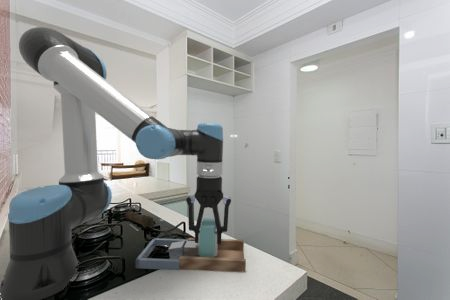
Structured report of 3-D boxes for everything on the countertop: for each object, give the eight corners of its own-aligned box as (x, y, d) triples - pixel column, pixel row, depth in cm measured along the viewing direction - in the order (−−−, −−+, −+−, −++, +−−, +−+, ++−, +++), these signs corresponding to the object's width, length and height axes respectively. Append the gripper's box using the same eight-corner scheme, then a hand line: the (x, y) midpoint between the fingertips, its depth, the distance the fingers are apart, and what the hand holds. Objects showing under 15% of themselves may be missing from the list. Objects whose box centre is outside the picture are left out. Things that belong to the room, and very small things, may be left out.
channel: (179, 273, 58) (179, 258, 58) (188, 250, 70) (188, 237, 70) (245, 276, 57) (245, 261, 57) (243, 252, 70) (243, 239, 69)
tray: (135, 272, 58) (135, 259, 58) (153, 248, 71) (153, 238, 71) (178, 274, 58) (179, 261, 57) (189, 249, 71) (189, 239, 70)
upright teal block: (199, 261, 60) (200, 226, 60) (202, 249, 67) (203, 218, 67) (213, 262, 60) (214, 227, 60) (215, 249, 67) (216, 218, 67)
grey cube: (170, 262, 62) (168, 249, 62) (174, 255, 66) (172, 242, 66) (184, 260, 62) (181, 247, 62) (187, 253, 66) (184, 240, 66)
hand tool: (124, 220, 96) (124, 210, 96) (133, 218, 99) (133, 208, 99) (147, 232, 84) (147, 220, 84) (156, 229, 87) (156, 218, 87)
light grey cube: (184, 260, 62) (183, 247, 62) (187, 253, 66) (187, 240, 66) (197, 261, 62) (197, 247, 62) (199, 253, 66) (199, 241, 66)
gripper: (177, 177, 59) (176, 259, 60) (238, 179, 59) (236, 261, 60) (183, 173, 67) (182, 246, 68) (238, 174, 66) (236, 248, 67)
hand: (207, 253), depth 64 cm, fingers closed on upright teal block, 4 cm apart
